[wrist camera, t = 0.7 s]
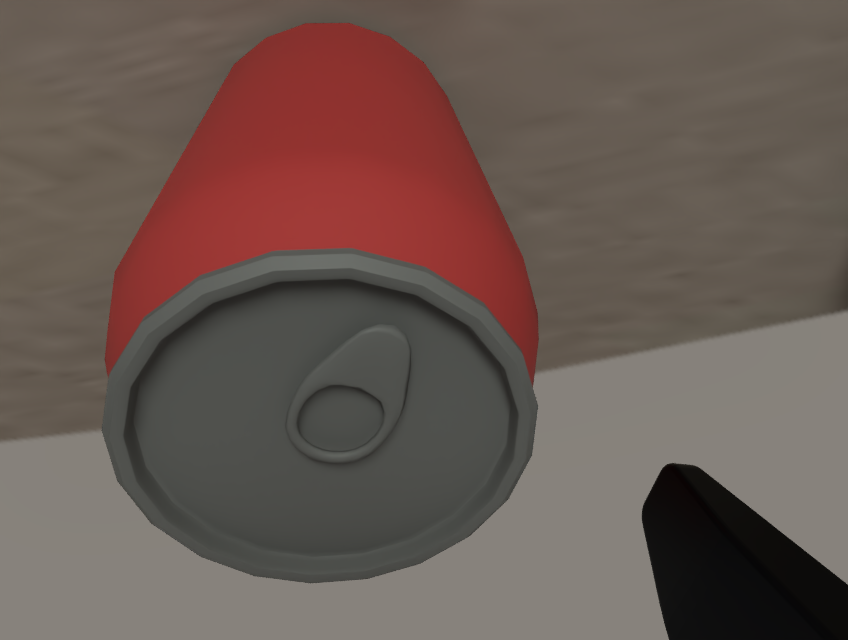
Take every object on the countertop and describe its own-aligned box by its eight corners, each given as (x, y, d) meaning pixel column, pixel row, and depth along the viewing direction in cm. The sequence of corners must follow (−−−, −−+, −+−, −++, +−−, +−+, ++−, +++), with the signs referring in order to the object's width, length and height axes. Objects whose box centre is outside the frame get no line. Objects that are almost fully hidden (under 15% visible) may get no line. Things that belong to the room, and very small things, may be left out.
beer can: (499, 90, 19) (680, 340, 9) (390, 285, 22) (433, 644, 12) (263, -35, 17) (142, 106, 7) (178, 200, 19) (2, 548, 9)
